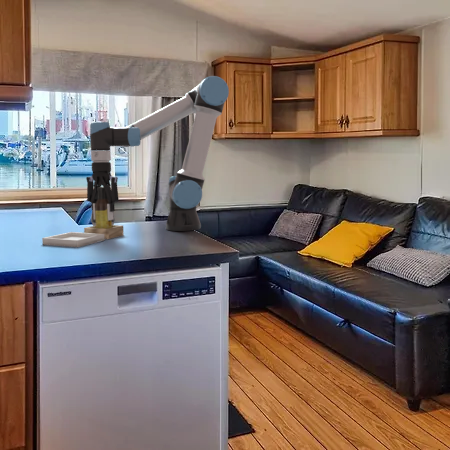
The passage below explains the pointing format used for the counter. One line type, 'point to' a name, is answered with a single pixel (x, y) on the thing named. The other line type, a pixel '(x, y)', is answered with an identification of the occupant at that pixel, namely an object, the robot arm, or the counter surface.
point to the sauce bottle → (102, 210)
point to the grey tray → (73, 239)
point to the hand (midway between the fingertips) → (103, 219)
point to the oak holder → (106, 231)
